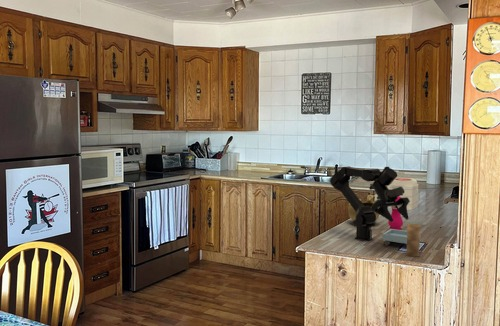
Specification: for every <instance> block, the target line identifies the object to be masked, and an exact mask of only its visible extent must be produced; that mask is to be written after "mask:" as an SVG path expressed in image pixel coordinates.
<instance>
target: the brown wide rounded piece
mask: <svg viewBox="0 0 500 326" xmlns="http://www.w3.org/2000/svg"><path fill="white" fill-rule="evenodd" d="M374 195H375V194H374ZM374 195H373V194H368V195H367V197H366V199H365V201H363V200H362V199H360V198H359V200H360V201H361V202H362V204H363V205H364V206H365V207H366V206H370V207H372V205H373V204H374V203H375V202H374V201H375V196H374ZM347 209H348V216H349V218H350V219H351V220H352V221H354V220H355V219H356V211H355V210H354V209H353V207H352V206H351V205H350V203H349V202H348V207H347ZM374 213H375V215H376V221H378V219H379V217H380V214H378V213H376V212H374Z"/></svg>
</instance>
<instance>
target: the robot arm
mask: <svg viewBox="0 0 500 326" xmlns="http://www.w3.org/2000/svg"><path fill="white" fill-rule="evenodd" d="M351 176H352V177H357V178H361V179H362V180H364V181H366V182H367V183H369V182H372V183H370V185H369V190H370V191H371V190H372V191H373V190H374V192H375V195H376V194H377V195H378V197H377V199H380V200H377V201H376V202H374V204H373V205H372V207H370V206H366V207H365V206H364V205H363V204H362V202H363V201H362V202H361V201H360V200H359V199H360V198H359V197H358V195H357V194H356V193H355V192H354V191H353V189H352V188H351V187H350V179H351ZM395 178H398V172H397V171H395V170H394V169H392V168H390V166H384V168H383V170H380V169H379V168H366V169H364V168H359V167H354V166H348V165H347V166H343V167H341V168H340V170H338V171H337V172H335V173H333V175H332V176H331V177H330V179H329V181H330V185H331V186H332V188H334V189H335V190H337V191H339V192H341V194H342V196H343V197H344V198H345V199H346V201H347V202H348V204H349V203H350V205H351V206H352V207H353V209H354V210H355V211H356V219H355V220H354V221H353V220H352V221H353V226H354V227H355V229H356V232H355V233H356V235H355V236H356V237H355V238H354V240H359V241H365V242H366V241H367V242H368V241H370V240H372V239H373V229H372V227H375V223H376V221H377V220H376V215H375V213H374V212H376V213H378V214H379V216H381V217H383V218H385V219H387V220H388V221H391V222H393V218H392V216H391V214H392V213H390V211H389V208H388V207H390V206H395V207H396V208H397V209H398V210H397V211H398V212H399V213H400V215H401V217H403V218H404V219H405V220H407V221H408V220H409V215H408V213H409V212H408V210H407V205H408V204H409V202H410V200H409V199H408V198H407V197H403V198H400V199H399V200H398V201H395V200H397V199H398V196H401V195H403V193H404V189H403V188H402V187H399V188H395V189H392V190H391V189H390V190H389V189H388V187H387V186H389V185H390V184H392V182H393V181H394V180H395Z"/></svg>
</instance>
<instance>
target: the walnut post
mask: <svg viewBox="0 0 500 326" xmlns="http://www.w3.org/2000/svg"><path fill="white" fill-rule="evenodd" d="M406 229H407V230H406V231H407V244H406V245H407V247H406V253H405V254H406V256H408V257H411V256H412V257H413V258H416V257H419V256H420V240H421V235H420V233H421V225H420V224H418V223H408V224H407V228H406ZM419 239H420V240H419Z"/></svg>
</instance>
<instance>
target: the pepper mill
mask: <svg viewBox="0 0 500 326" xmlns="http://www.w3.org/2000/svg"><path fill="white" fill-rule="evenodd" d="M400 198H401V197H400V196H398V199H397V200H395V201H398V200H399V199H400ZM390 209H391V213H390V214H391V216H392V218H393V222H391V221H389V220H388V221H387V223H388V224H387V225H389V227H388V230H390V229H395V230H402V229H403V228H402V227H403V226H404V221H403V218H402V215H401V214H400V213H399V212H398V211H397V210H398V209H397V208H396V207H395V206H391V208H390ZM402 231H403V230H402Z"/></svg>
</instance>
